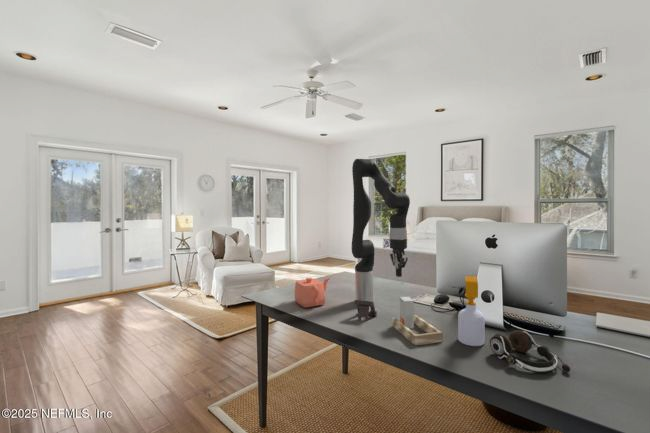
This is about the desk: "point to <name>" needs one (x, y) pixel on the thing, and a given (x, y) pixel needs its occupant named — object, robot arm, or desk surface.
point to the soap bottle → (471, 317)
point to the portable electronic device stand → (365, 309)
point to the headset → (524, 344)
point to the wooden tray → (419, 339)
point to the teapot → (310, 292)
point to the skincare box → (407, 312)
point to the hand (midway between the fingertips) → (398, 276)
